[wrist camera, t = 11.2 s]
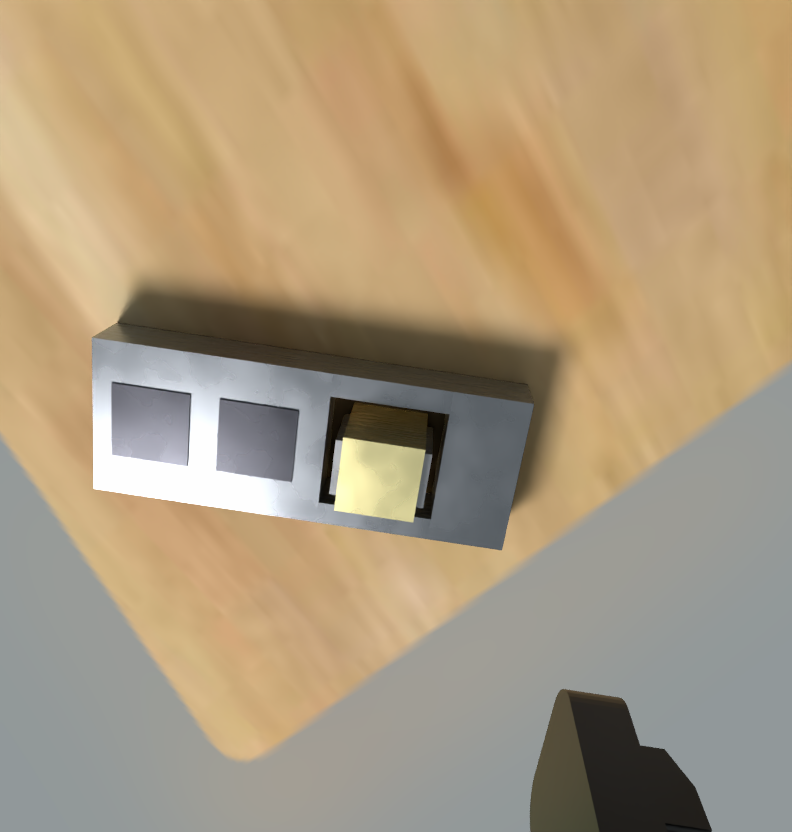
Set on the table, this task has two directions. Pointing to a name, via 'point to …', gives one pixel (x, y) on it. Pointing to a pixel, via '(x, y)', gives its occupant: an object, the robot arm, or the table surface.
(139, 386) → the silver slotted board
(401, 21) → the table surface
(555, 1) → the table surface
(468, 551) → the table surface
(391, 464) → the brushed gold cube
